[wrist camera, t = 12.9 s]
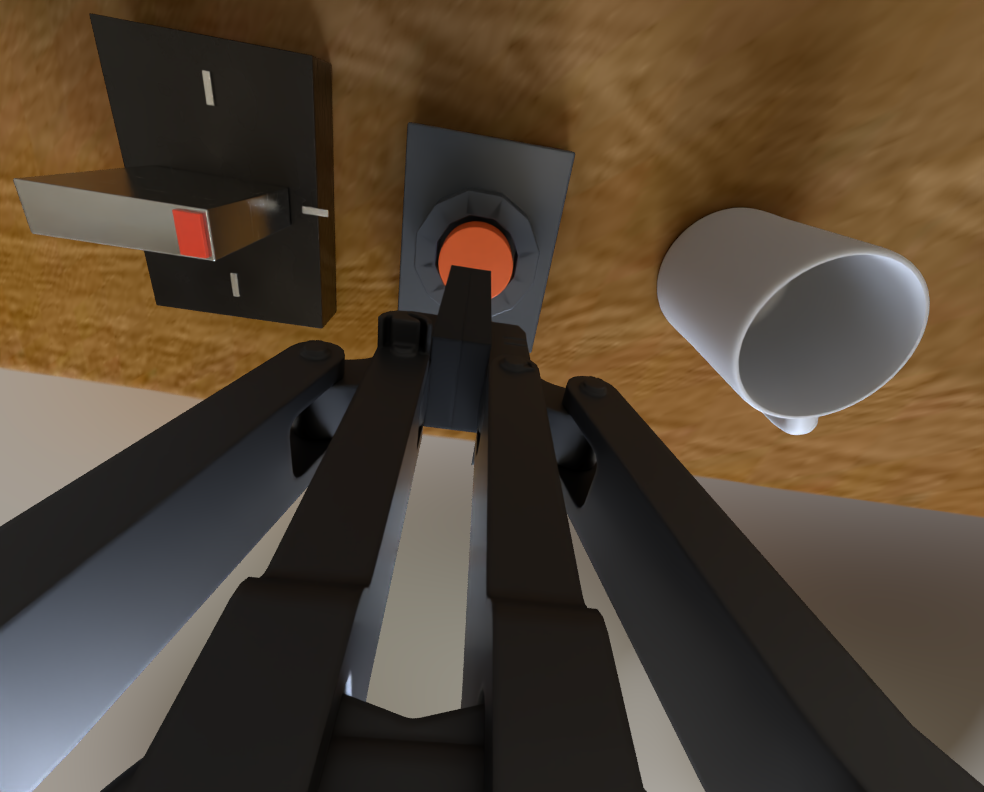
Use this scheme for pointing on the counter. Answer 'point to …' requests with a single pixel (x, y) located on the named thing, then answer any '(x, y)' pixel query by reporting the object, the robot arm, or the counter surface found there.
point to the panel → (232, 159)
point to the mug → (792, 311)
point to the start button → (478, 253)
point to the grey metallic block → (155, 209)
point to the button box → (481, 214)
